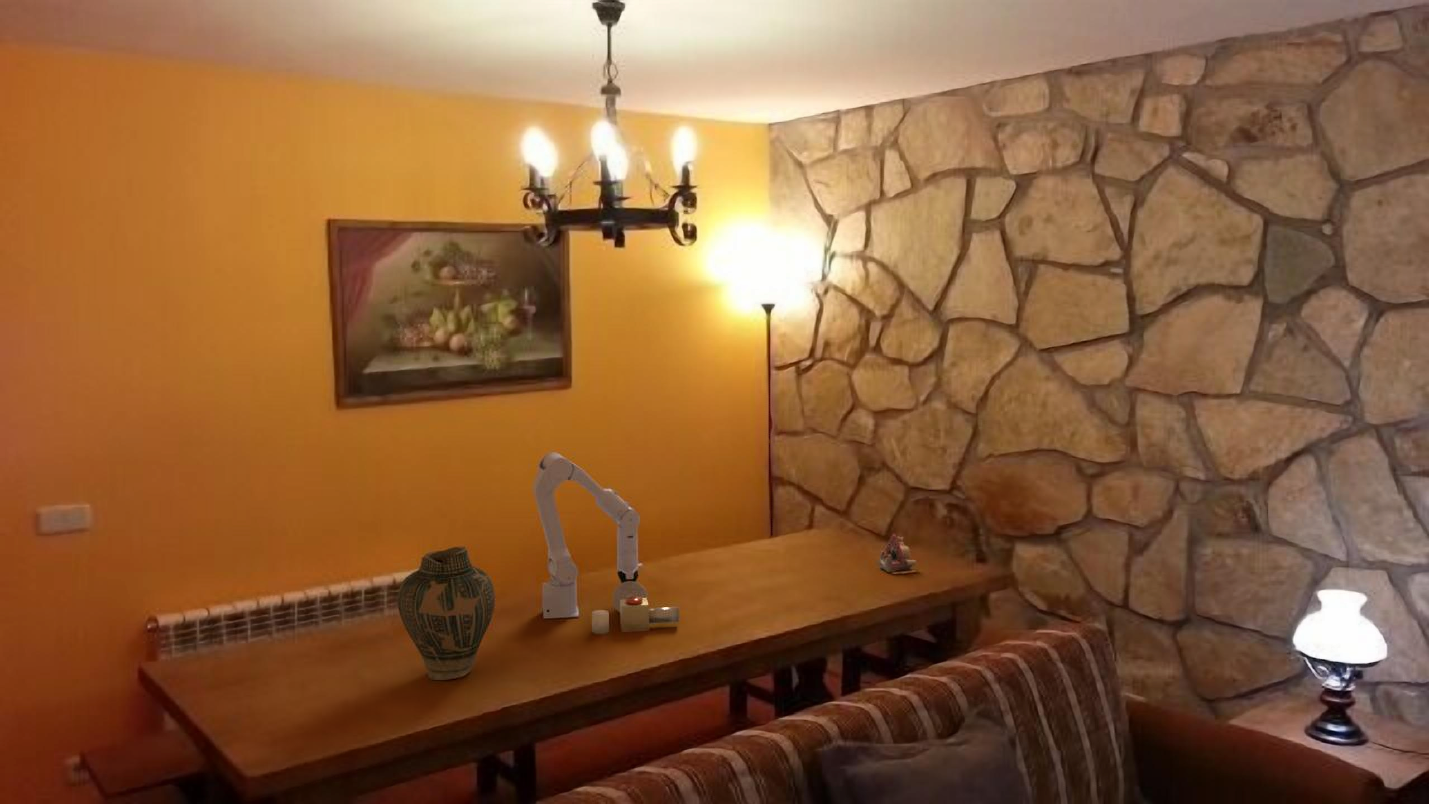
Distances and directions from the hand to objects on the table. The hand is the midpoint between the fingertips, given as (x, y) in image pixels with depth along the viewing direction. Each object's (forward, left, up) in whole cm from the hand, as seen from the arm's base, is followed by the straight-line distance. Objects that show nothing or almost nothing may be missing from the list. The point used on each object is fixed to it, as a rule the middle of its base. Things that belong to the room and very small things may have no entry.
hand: (628, 597), depth 320 cm
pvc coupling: (-9, -20, -2) cm, 22 cm away
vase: (-46, -44, -3) cm, 64 cm away
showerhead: (0, -2, -2) cm, 3 cm away
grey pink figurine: (+85, +22, -3) cm, 88 cm away
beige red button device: (+4, -17, -2) cm, 17 cm away
